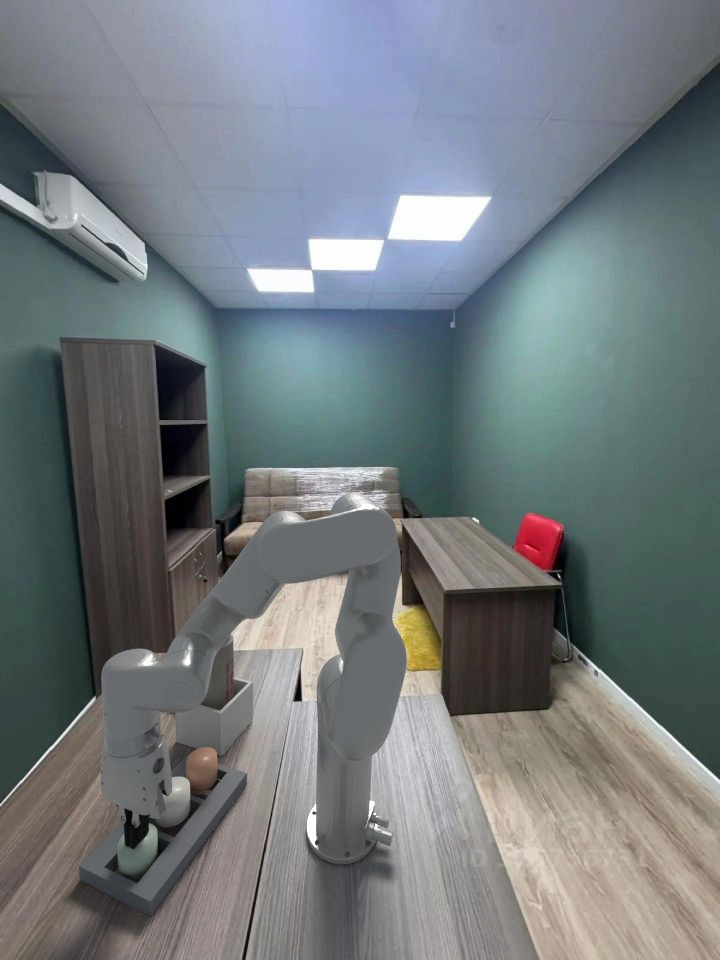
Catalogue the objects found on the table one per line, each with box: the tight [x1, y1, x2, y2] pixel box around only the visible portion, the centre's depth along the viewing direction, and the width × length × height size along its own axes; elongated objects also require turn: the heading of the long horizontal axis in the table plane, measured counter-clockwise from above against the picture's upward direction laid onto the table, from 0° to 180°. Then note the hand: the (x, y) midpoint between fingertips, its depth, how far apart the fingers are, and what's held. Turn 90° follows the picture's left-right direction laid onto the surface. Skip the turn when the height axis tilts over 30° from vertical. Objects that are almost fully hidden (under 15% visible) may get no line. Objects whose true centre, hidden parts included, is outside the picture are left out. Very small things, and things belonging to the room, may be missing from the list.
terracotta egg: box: [186, 747, 218, 792], centre depth 80 cm, size 6×6×4 cm
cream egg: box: [156, 777, 191, 828], centre depth 73 cm, size 6×6×4 cm
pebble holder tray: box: [78, 753, 248, 917], centre depth 74 cm, size 14×24×2 cm, turn 161°
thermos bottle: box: [200, 633, 235, 710], centre depth 95 cm, size 8×8×28 cm
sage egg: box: [117, 823, 159, 883], centre depth 67 cm, size 6×6×4 cm
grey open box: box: [174, 676, 254, 757], centre depth 97 cm, size 12×12×10 cm
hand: (137, 839), depth 66 cm, fingers closed
